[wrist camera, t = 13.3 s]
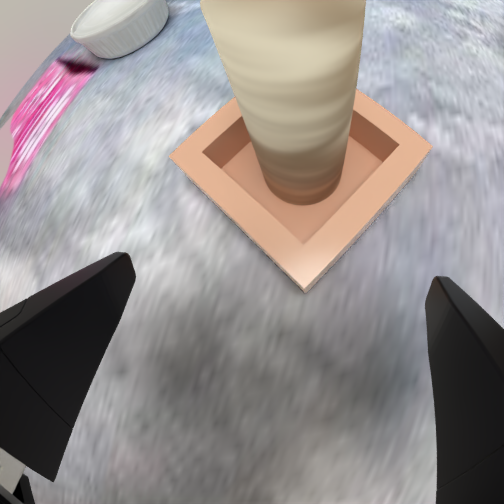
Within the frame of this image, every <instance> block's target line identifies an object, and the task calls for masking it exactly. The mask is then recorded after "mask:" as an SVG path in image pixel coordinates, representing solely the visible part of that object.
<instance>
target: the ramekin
mask: <svg viewBox="0 0 504 504" xmlns="http://www.w3.org/2000/svg"><path fill="white" fill-rule="evenodd" d="M168 14H169V12H168V7H167V3H166V0H95V1H94V2H93V3H91V4H90V5H89V6H88V7H87V8H86V9H85V10H84V11H83V12H82V13H81V14H80V15H79V16H78V18H77V19H76V20H75V22H74V23H73V25H72V27H71V31H70V35H71V37H72V38H73V39H74V40H75V41H76V42H78V43H81V44H82V45H83V46H85V47H86V48H87V49H88V50H90V51H91V52H92V53H93V54H95V55H96V56H98V57H100V58H107V59H113V58H118V57H122V56H124V55H127V54H129V53H131V52H133V51H135V50H137V49H139V48H141V47H142V46H144V45H145V44H146V43H148V42H149V41H151V40H152V39H153V38H154V37H155V36H156V35H157V34H158V33H159V32H160V31H161V30H162V28H163V27H164V25H165V24H166V21H167V18H168Z"/></svg>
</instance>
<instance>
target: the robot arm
mask: <svg viewBox="0 0 504 504" xmlns="http://www.w3.org/2000/svg"><path fill="white" fill-rule="evenodd" d="M135 279H136V274H135V270H134V267H133V264H132V261H131V258H130V255H129V254H128V253H126V252H115V253H113V254H111V255H109V256H107V257H105V258H103V259H101V260H99V261H97V262H95V263H93V264H91V265H89V266H87V267H85V268H83V269H81V270H79V271H77V272H75V273H73V274H71V275H69V276H67V277H66V278H64V279H62V280H60V281H58V282H56V283H54V284H52V285H50V286H49V287H47V288H45V289H43V290H41V291H39V292H38V293H36V294H34V295H32V296H30V297H29V298H28V299H25V300H23V301H21V302H19V303H18V304H16V305H14V306H12V307H10V308H8V309H7V310H5V311H3V312H1V313H0V504H35V502H34V498H33V494H32V491H31V487H30V483H29V479H28V477H27V476H26V475H25V474H23V472H24V470H25V468H26V466H27V467H29V468H30V469H32V470H34V471H35V472H37V473H38V474H40V475H42V476H43V477H45V478H47V479H48V480H50V481H52V482H54V480H55V478H56V476H57V473H58V470H59V467H60V464H61V461H62V458H63V455H64V452H65V449H66V447H67V444H68V441H69V438H70V436H71V433H72V430H73V429H72V428H73V427H74V425H75V422H76V419H77V417H78V414H79V412H80V409H81V407H82V404H83V402H84V400H85V397H86V395H87V392H88V390H89V388H90V385H91V383H92V381H93V378H94V376H95V374H96V371H97V369H98V367H99V365H100V362H101V360H102V358H103V356H104V354H105V351H106V349H107V347H108V345H109V343H110V341H111V339H112V336H113V334H114V332H115V330H116V328H117V326H118V324H119V322H120V319H121V317H122V314H123V312H124V309H125V306H126V304H127V301H128V298H129V296H130V293H131V291H132V288H133V285H134V283H135ZM425 310H426V323H427V340H428V355H429V363H430V370H431V378H432V387H433V397H434V408H435V421H436V441H437V491H436V504H504V329H503V328H502V327H501V326H500V325H499V324H498V323H497V322H496V321H495V320H494V319H493V318H492V317H491V316H490V315H489V314H488V313H487V312H486V311H485V310H484V309H483V308H482V307H481V306H480V305H479V304H477V303H476V302H475V301H474V300H473V299H472V298H471V297H470V296H469V295H468V294H467V293H466V292H464V291H463V290H462V289H461V288H460V287H459V286H458V285H457V284H456V283H454V282H453V281H452V280H451V279H450V278H449V277H445V276H436V277H434V279H433V281H432V283H431V286H430V289H429V292H428V295H427V297H426V301H425Z"/></svg>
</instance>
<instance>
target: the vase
mask: <svg viewBox="0 0 504 504" xmlns="http://www.w3.org/2000/svg"><path fill="white" fill-rule="evenodd" d="M365 5H366V0H201V2H200V6H201V10H202V12H203V15H204V17H205V20H206V22H207V25H208V27H209V30H210V32H211V35H212V37H213V40H214V42H215V45H216V48H217V50H218V53H219V55H220V58H221V61H222V63H223V66H224V68H225V71H226V74H227V76H228V79H229V82H230V84H231V87H232V90H233V92H234V95H235V98H236V100H237V103H238V106H239V109H240V111H241V114H242V117H243V120H244V122H245V125H246V128H247V131H248V133H249V136H250V139H251V142H252V145H253V148H254V150H255V153H256V156H257V159H258V162H259V165H260V168H261V171H262V173H263V176H264V179H265V182H266V184H267V186H268V188H269V189H270V191H271V192H272V193H273V194H274V195H275V196H277V197H278V198H279V199H281V200H283V201H285V202H287V203H290V204H294V205H312V204H316V203H319V202H321V201H323V200H325V199H326V198H328V197H329V196H330V195H331V194H332V193H333V192H334V191H335V190H336V188H337V187H338V185H339V182H340V179H341V175H342V170H343V165H344V159H345V154H346V148H347V143H348V137H349V131H350V125H351V119H352V113H353V106H354V100H355V93H356V86H357V79H358V71H359V63H360V55H361V46H362V37H363V27H364V17H365Z"/></svg>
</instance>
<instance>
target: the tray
mask: <svg viewBox="0 0 504 504" xmlns="http://www.w3.org/2000/svg"><path fill="white" fill-rule="evenodd" d="M432 147H433V146H432V145H430V144H429V143H428V142H427V141H426V140H425V139H423V138H422V137H421V136H420V135H419V134H417V133H416V132H415V131H414V130H412V129H411V128H410V127H409V126H407V125H406V124H405V123H403V122H402V121H401V120H400V119H398V118H397V117H396V116H394V115H393V114H392V113H390V112H389V111H388V110H386V109H385V108H383V107H382V106H381V105H379V104H378V103H376V102H375V101H374V100H372V99H371V98H369V97H368V96H366V95H365V94H363V93H362V92H360V91H359V90H357V89H356V93H355V100H354V106H353V113H352V119H351V125H350V131H349V137H348V143H347V148H346V154H345V159H344V165H343V170H342V175H341V179H340V182H339V185H338V187H337V188H336V190H335V191H334V192H333V193H332V194H331V195H330V196H329V197H328V198H326V199H325V200H323V201H321V202H319V203H316V204H312V205H294V204H290V203H287V202H285V201H283V200H281V199H279V198H278V197H277V196H275V195H274V194H273V193H272V192H271V191H270V189H269V188H268V186H267V184H266V182H265V179H264V176H263V173H262V171H261V168H260V165H259V162H258V159H257V156H256V153H255V150H254V148H253V145H252V142H251V139H250V136H249V133H248V131H247V128H246V125H245V122H244V120H243V117H242V114H241V111H240V109H239V106H238V103H237V100H236V98H235V97H234V98H233V99H232V100H230V101H229V102H228V103H227V104H226V105H224V106H223V107H222V108H221V109H220V110H219V111H217V112H216V113H215V114H214V115H213V116H212V117H210V118H209V119H208V120H207V121H206V122H205V123H204V124H203V125H201V126H200V127H199V128H198V129H197V130H196V131H195V132H194V133H193V134H192V135H190V136H189V137H188V138H187V139H186V140H185V141H184V142H183V143H182V144H181V145H180V146H179V147H178V148H177V149H176V150H175V151H174V152H172V153H171V154H170V155H169V157H170V158H171V159H172V161H173V162H174V163H175V164H176V165H177V166H178V167H179V168H180V169H181V170H182V171H183V173H184V174H185V175H186V176H187V177H188V178H189V179H190V180H191V181H192V182H193V183H194V184H195V185H196V186H197V187H198V188H199V189H200V190H201V191H202V192H203V193H204V194H205V195H206V196H207V197H208V198H209V199H210V200H211V201H212V202H213V203H214V204H215V205H216V206H217V207H218V208H219V209H220V210H222V211H223V212H224V213H225V214H226V215H227V216H228V217H229V218H230V219H231V220H232V221H233V222H234V223H235V224H236V225H237V226H238V227H239V228H240V229H241V230H242V231H243V232H244V233H245V234H246V235H247V236H248V237H249V238H250V239H251V240H252V241H253V242H254V243H255V244H256V245H257V246H258V247H259V248H260V249H261V250H262V251H263V252H264V253H265V254H266V255H267V256H268V257H269V258H270V259H271V260H272V261H273V262H274V263H275V264H276V265H277V266H278V267H279V268H280V269H281V270H282V271H283V272H284V273H285V274H286V275H287V276H288V277H289V278H290V279H291V280H292V281H293V282H294V283H295V284H296V285H297V286H298V287H299V288H300V289H301V290H302V291H303V292H304V293H305V294H306V293H307V292H308V291H309V290H310V289H311V288H312V287H313V286H314V285H315V284H316V283H317V281H318V280H319V279H320V278H321V277H322V276H323V275H324V274H325V273H326V272H327V271H328V270H329V269H330V268H331V267H332V266H333V265H334V264H335V263H336V262H337V261H338V260H339V259H340V258H341V256H342V255H343V254H344V253H345V252H346V251H347V250H348V249H349V248H350V247H351V246H352V245H353V244H354V243H355V241H356V240H357V239H358V238H359V237H360V236H361V235H362V234H363V233H364V232H365V231H366V229H367V228H368V227H369V226H370V225H371V224H372V223H373V222H374V221H375V219H376V218H377V217H378V216H379V215H380V214H381V213H382V212H383V211H384V209H385V208H386V207H387V206H388V205H389V204H390V203H391V201H392V200H393V199H394V198H395V197H396V196H397V194H398V193H399V192H400V191H401V190H402V189H403V187H404V186H405V185H406V184H407V183H408V182H409V180H410V179H411V178H412V177H413V176H414V174H415V173H416V172H417V171H418V169H419V168H420V166H421V164H422V163H423V161H424V160H425V158H426V157H427V155H428V153H429V152H430V150H431V149H432Z"/></svg>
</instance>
